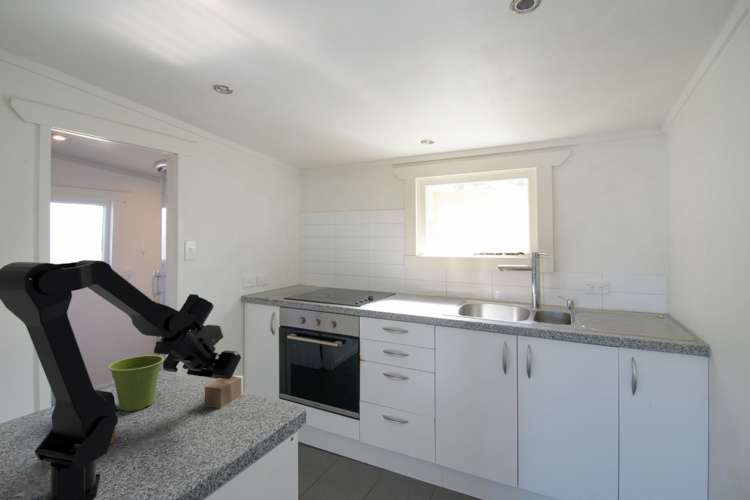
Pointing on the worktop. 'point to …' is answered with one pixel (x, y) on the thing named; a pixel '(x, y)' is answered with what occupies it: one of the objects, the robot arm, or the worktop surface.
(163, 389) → the worktop surface
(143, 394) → the plant pot
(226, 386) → the walnut block
